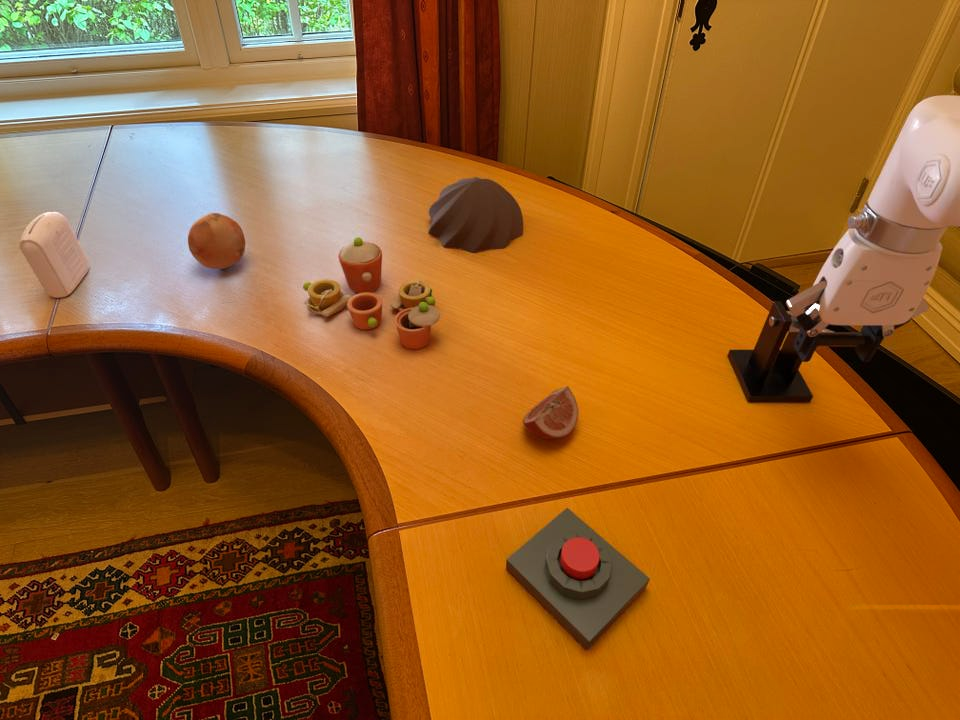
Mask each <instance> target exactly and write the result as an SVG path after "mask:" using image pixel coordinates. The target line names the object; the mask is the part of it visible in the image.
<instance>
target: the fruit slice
mask: <svg viewBox="0 0 960 720" xmlns="http://www.w3.org/2000/svg"><path fill="white" fill-rule="evenodd" d="M578 419H579V406H578V403H577V399H576V397H575V395H574V393H573V392H572V389H571V388H570V387H569V385H567V386H564V387H561V388H558V389H555V390H553V391H552V392H551V393H549V395H547V396H546V397H545V398H543V399H542V400H541V401H540V402H538V403H537V404H536V405H535V406H533V407H532V408H531V409H530V410H529V411H528V412H527V413H526V414H525V416H524V417H523V419H522V424H523V426H524V427H525V428H526V429H527V430H528V431H529V432H530V434H531V433H532V434H533V435H535V436H536V437H538V438H541V439H548V440H552V439H560V438H563V437H565V436H568V435H569V434H570V433H571V432H572V431H573V430H574V428H575V427H576V424H577V423H578Z"/></svg>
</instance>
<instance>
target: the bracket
mask: <svg viewBox="0 0 960 720" xmlns="http://www.w3.org/2000/svg"><path fill="white" fill-rule="evenodd" d="M812 306H813V305H812V304H810V305H809V306H807V307H806V308H805V309H804V310H805V311H806V312H807V311H808V310H809V309H810V308H811V307H812ZM787 311H788V310H786V308H785V306H784V305H783V303H782V301H773V302H772V305H771V307H770V309H769V312H768V314H767V316H766V318H765V320H764V324H763V326H762V329H761V331H760V334H759V336H758V337H757V341H756V343H755V344H754V345H755V346H754V348H753V349H729V350H728V353H727V358H728V361H729V362H730V365H731V367H732V370H733V372H734V374H735V376H736V379H737V382H738V383H739V385H740V387H741V391H742V392H743V395H744V396H745V399H746V401H747V403H811V402H812V400H813V398H814V395H813V393H812V391H811V389H810V387H809V386H808V384H807V382H806V380H805V379H804V377H803V374H802V373H801V371H800V370H799V369H800V368H801V366H802V364H803V362H802V360H801V358H800V356H799V355H798V353H797V352H796V350H795V349H794V341H795V339H796V337H797V335H798V333H799V332H788V330H789V328H790V326H791V324H792V320H791V318H790V316H789V315H788V313H787ZM819 318H820V316H819V315H818V316H817V317H816V318H815V319H814V320H813V321H814V323H815V322H816V321H817V320H818V319H819Z"/></svg>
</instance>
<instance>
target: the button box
mask: <svg viewBox="0 0 960 720" xmlns="http://www.w3.org/2000/svg"><path fill="white" fill-rule="evenodd" d="M576 537H581V538H585V539H588V540H590V541H591V542H592V543H594V544H595V546H596V547H597V549H598V551H599V555H600V559H599V563H598V567H597V570H596V572H595V573H594V575H592V576H591V577H590V578H587V579H575V578H572V577H570V576H569V575H567V574H566V573H565V571H564V570H563V569H562V566H561V563H560V557H561V552H562V548H563V545H564V544H565V543H566V542H567V541H568V540H570V539H572V538H576ZM505 570H506V571H507V572H508V573H509V574H510V575H511V576H512V577H513V578H514V579H515V580H516V581H517V582H518V583H519V584H520V585H521V586H522V587H523V588H524V589H525V590H526V591H527V593H529V594H530V595H531V596H532V597H533V598H534V599H535V600H536V601H537V602H538V603H539V604H540V605H541V606H542V607H543V608H544V609H545V610H546V611H547V612H548V613H549V614H550V615H551V616H552V617H553V618H554V619H555V620H556V621H557V622H558V623H559V624H560V625H561V627H563V629H565V630H566V631H567V632H568V633H569V635H571V636H572V637H573V638H574V639H575V641H576V642H577V643H579V645H580V646H582V647H583V648H584V650H586V651H588V650H589V649H590V648H591V647H592V646H593V645H594V644H595V643H596V642H597V640H599V638H600V637H602V636H603V634H604V633H605V632H606V631H607V630H608V629H609V628H610V627H611V626H612V625H613V624H614V623H615V622H616V621H617V620H618V619H619V618H620V617H621V616H622V614H623V613H624V612H625V611H626V610H627V609H628V608H629V607H630V606H631V605H632V604H633V603H634V602H635V601H636V600H637V599H638V598H639V597H640V595H642V593H643V592H645V590H646V589H647V587H648V586H649V585H648V584H649V582H650V580H651V578H650V577H649V576H648V575H646V574H645V573H644V572H643V571H642V570H640V569H639V567H637V566H636V565H635V564H634V563H632V561H630V560H629V559H628V558H626V556H624V554H622V553H621V552H620V551H618V550H617V549H616V548H615V546H612V544H610V543H609V542H608V541H607V540H606V539H605V538H603V537H602V536H601V535H600V534H598V533H597V532H596V531H595V530H594V529H593V528H592V527H590V526H589V525H588V524H587V523H586V522H585V521H584V520H583V519H581V518H580V517H579V516H578V515H577V514H575V513H574V512H573V511H572V510H571V509H570V508H569V507H566V508H565V509H564V510H562V511H561V512H560V513H559V514H558V515H556V516H555V517H554V518H552V519H551V520H550V522H548V523H547V524H546V525H544V527H542V528H541V529H540V530H539V531H538V532H536V533H535V534H534V535H533V536H532V537H531V538H530V539H528V540H527V541H526V542H524V544H523V545H521V546H520V547H519V548H518V549H517V550H516V551H514V552H513V553H511V555H510V556H508V557H507V558H506V559H505Z"/></svg>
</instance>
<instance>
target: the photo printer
mask: <svg viewBox="0 0 960 720" xmlns="http://www.w3.org/2000/svg"><path fill="white" fill-rule="evenodd" d="M18 245H19V249H20V251H21V253H22V255H23V257H25V260H26V261H27V263H28V265H29V266H30V268H31V270H32V271H33V274H34V275H35V276H36V278H37V280H38V282H39V283H40V285H41V286H42V289H43V290H44V291H45V293H46V294H47V295H48V296H50V297H51V298H55V299H59V298H65V297H68V296H69V295H71V293H72V292H73V291H75V289H76V288H77V287H78V285H79V284H80V282H81V281H82V280H83V279H84V277H85V276H86V275H87V273H88V272H89V270H90V268H91V263H90V261H89V260H88V258H87V255H86V254H85V252H84V250H83V248H82V246H81V244H80V242H79V240H78V238H77V236H76V235H75V232H74V230H73V229H72V227H71V225H70V223H69V221H68V219H67V218H66V217H65V216H64V215H63V214H62V213H60V212H58V211H52V212H51V211H47V212H43V213H41V214H40V215H38V216H36V217H35V218H33V219H32V220H31V221H30V222H29V223H28V225H27V226H26V227H25V229H24V231H23V232H22V235H21V236H20V239H19V243H18Z"/></svg>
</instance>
